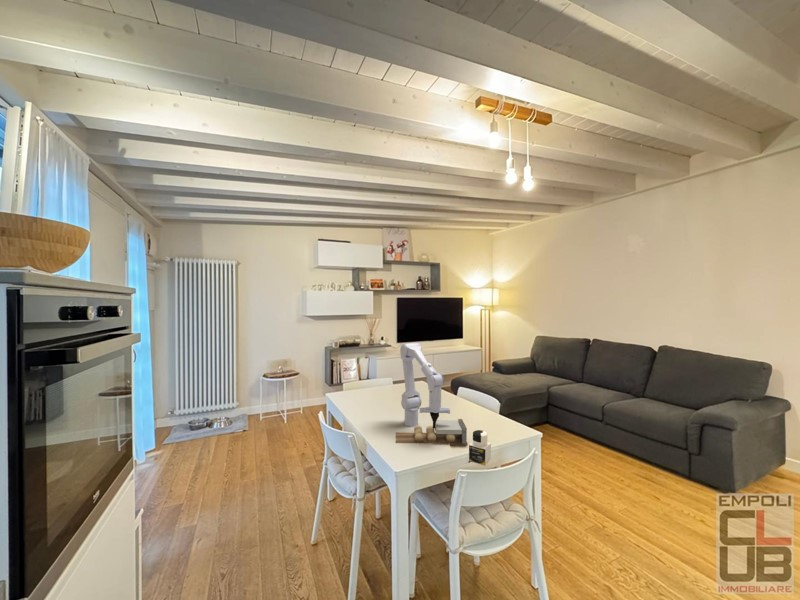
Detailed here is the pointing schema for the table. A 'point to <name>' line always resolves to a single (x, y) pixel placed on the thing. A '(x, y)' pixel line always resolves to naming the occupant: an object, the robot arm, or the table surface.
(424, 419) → the table surface
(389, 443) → the table surface
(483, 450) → the medicine bottle
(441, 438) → the roller board
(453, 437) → the roller
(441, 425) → the slab
